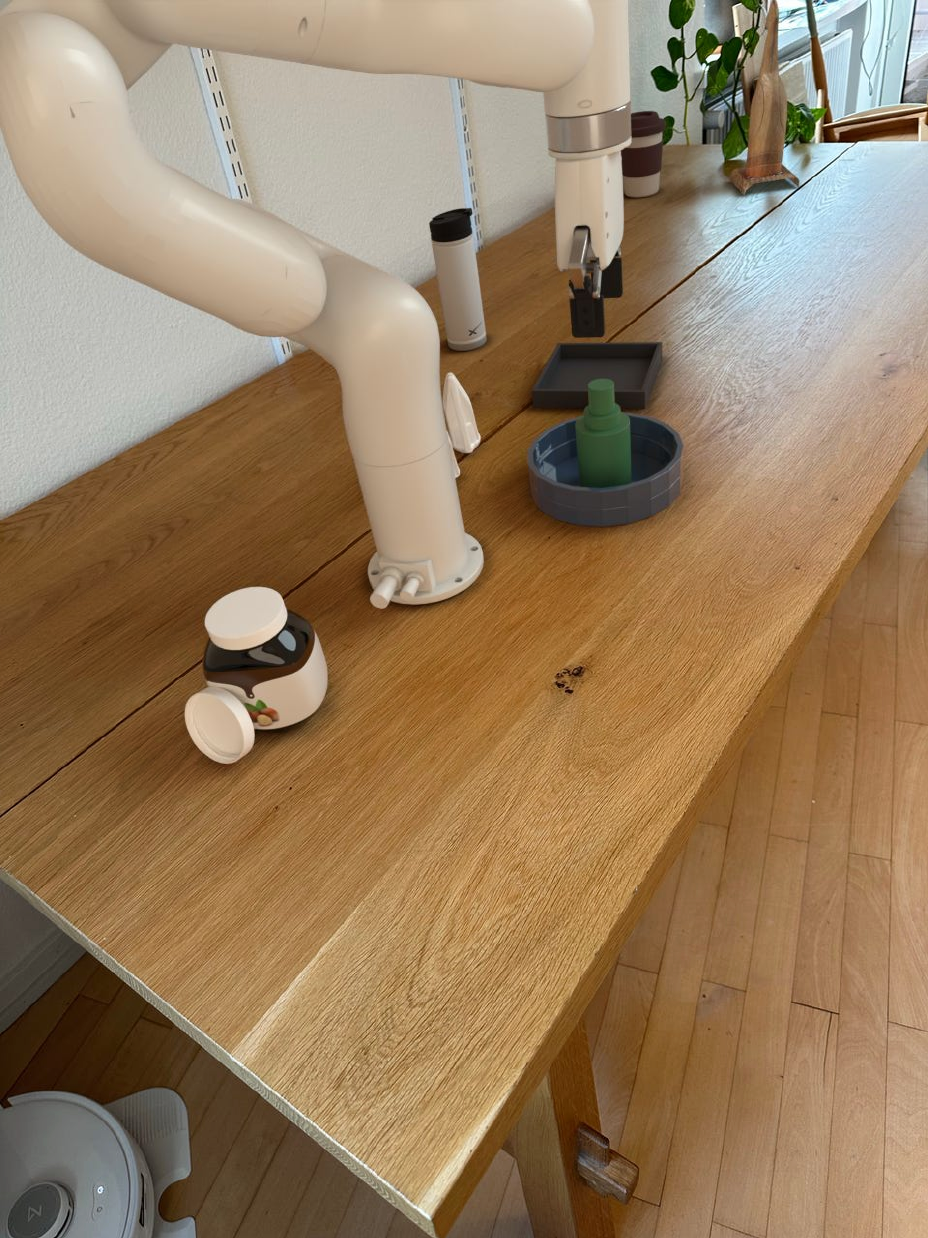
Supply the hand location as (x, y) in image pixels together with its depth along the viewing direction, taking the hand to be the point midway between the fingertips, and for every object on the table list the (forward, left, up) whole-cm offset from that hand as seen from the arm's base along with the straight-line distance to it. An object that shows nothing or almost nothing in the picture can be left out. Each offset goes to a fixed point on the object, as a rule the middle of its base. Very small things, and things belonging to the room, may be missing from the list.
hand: (598, 315), depth 89 cm
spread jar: (-42, +23, -20) cm, 52 cm away
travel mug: (+40, +30, -20) cm, 54 cm away
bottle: (0, 0, -20) cm, 20 cm away
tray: (+26, +6, -20) cm, 33 cm away
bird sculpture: (+116, -10, -20) cm, 118 cm away
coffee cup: (+116, +15, -20) cm, 118 cm away
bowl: (0, 0, -20) cm, 20 cm away
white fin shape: (+4, +20, -20) cm, 29 cm away
